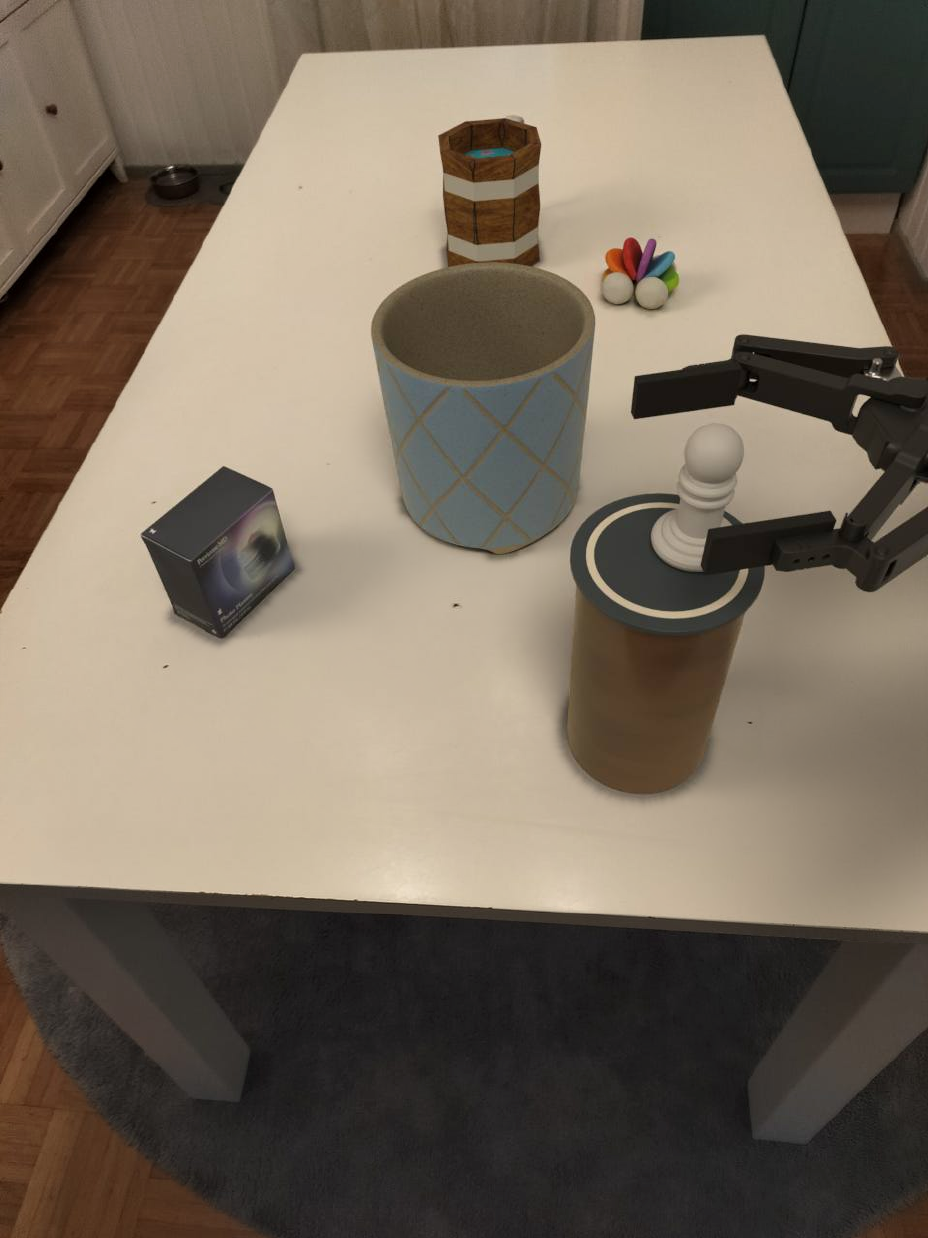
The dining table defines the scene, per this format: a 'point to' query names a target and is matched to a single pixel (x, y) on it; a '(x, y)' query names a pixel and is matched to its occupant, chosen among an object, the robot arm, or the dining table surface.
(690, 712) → the walnut pedestal
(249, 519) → the small box
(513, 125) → the mug
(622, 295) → the rainbow petal fan toy
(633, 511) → the slate board
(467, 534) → the planter
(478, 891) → the dining table surface
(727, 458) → the chess piece
